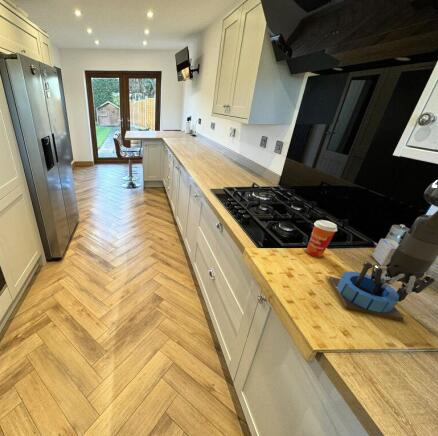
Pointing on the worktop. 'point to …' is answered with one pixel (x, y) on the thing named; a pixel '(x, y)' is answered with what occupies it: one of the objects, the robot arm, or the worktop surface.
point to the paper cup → (320, 237)
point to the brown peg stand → (350, 305)
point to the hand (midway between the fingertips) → (386, 297)
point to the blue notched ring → (363, 298)
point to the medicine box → (384, 251)
